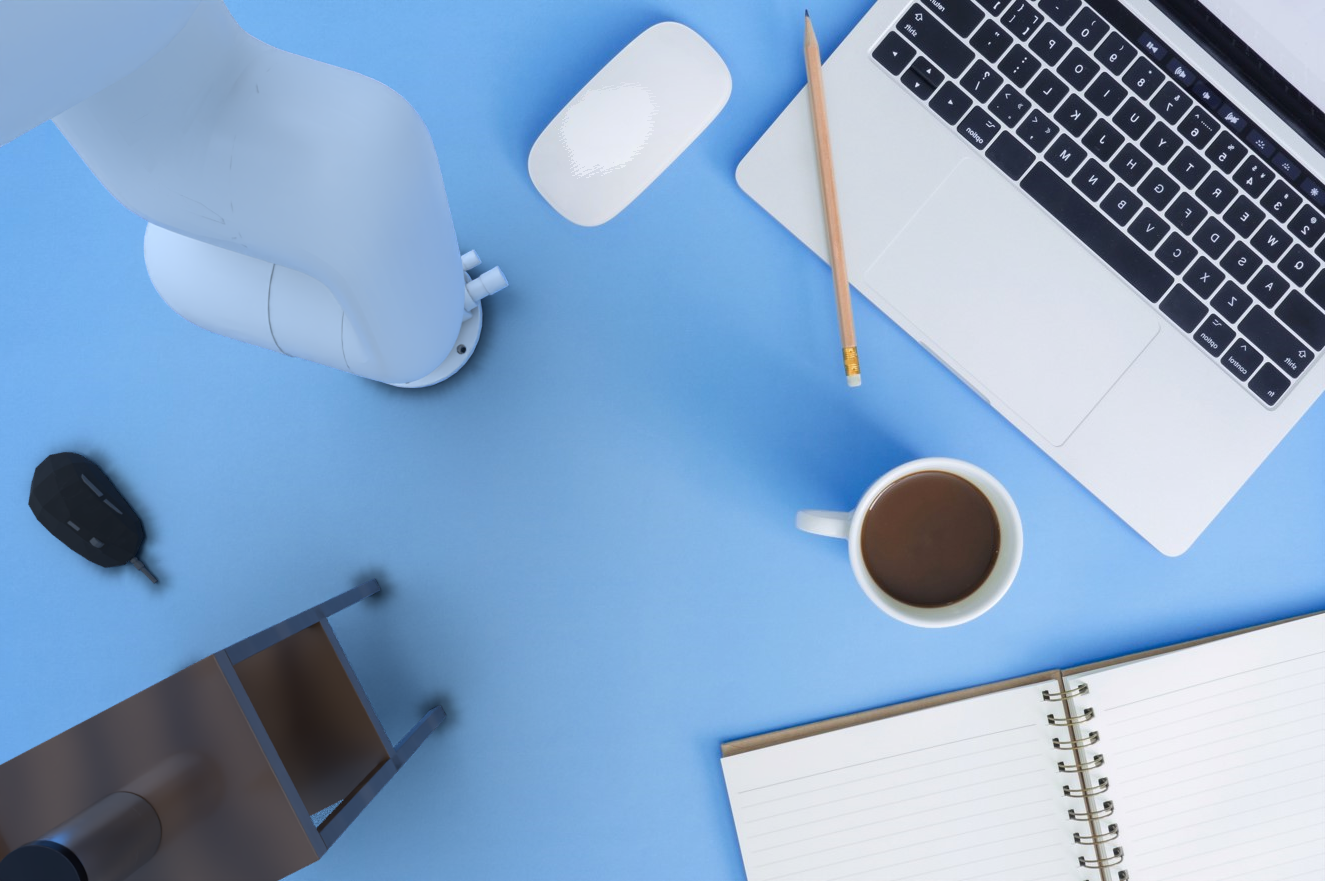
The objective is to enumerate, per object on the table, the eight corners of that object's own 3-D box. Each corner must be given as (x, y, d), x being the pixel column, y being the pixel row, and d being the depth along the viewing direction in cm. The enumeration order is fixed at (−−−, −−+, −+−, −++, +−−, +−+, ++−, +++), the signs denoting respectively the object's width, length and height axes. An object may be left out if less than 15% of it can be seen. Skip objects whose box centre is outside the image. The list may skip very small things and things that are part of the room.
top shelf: (223, 648, 54) (193, 662, 51) (328, 850, 54) (304, 877, 51) (-50, 791, 55) (-96, 813, 52) (52, 989, 55) (12, 1024, 52)
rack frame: (375, 577, 79) (223, 648, 54) (446, 716, 79) (328, 850, 54) (184, 677, 80) (-50, 791, 55) (254, 814, 80) (52, 989, 55)
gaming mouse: (132, 604, 80) (102, 614, 76) (26, 483, 80) (-10, 486, 76) (182, 559, 80) (154, 566, 76) (75, 437, 80) (42, 438, 76)
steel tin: (139, 776, 53) (54, 829, 46) (177, 849, 53) (97, 913, 46) (69, 812, 54) (-26, 870, 47) (107, 885, 54) (17, 954, 47)
